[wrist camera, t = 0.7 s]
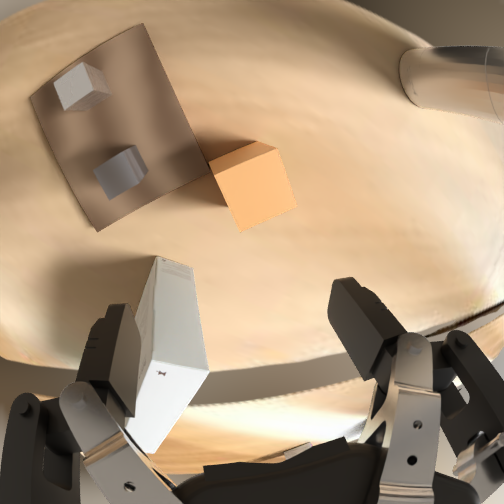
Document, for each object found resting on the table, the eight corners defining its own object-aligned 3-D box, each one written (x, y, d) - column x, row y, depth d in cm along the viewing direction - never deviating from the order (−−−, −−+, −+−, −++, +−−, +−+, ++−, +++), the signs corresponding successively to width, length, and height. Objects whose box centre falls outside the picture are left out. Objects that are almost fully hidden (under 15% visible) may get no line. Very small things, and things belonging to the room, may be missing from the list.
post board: (144, 27, 18) (132, 2, 12) (209, 169, 27) (215, 185, 21) (36, 97, 18) (2, 97, 12) (100, 227, 27) (81, 256, 21)
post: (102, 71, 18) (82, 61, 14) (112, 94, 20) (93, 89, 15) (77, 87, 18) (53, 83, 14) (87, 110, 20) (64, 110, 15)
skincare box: (153, 369, 40) (154, 455, 26) (121, 360, 37) (114, 448, 24) (198, 267, 33) (212, 374, 19) (156, 253, 31) (142, 358, 17)
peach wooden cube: (257, 141, 27) (277, 148, 21) (274, 186, 30) (297, 206, 24) (208, 162, 27) (213, 175, 21) (228, 207, 30) (239, 232, 24)
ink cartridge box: (286, 454, 75) (298, 487, 62) (282, 451, 72) (294, 486, 59) (312, 444, 75) (326, 477, 62) (309, 441, 72) (323, 476, 59)
